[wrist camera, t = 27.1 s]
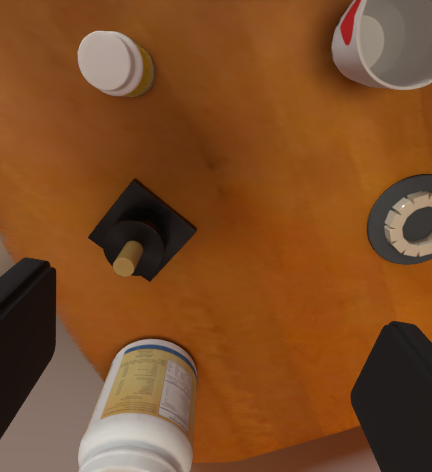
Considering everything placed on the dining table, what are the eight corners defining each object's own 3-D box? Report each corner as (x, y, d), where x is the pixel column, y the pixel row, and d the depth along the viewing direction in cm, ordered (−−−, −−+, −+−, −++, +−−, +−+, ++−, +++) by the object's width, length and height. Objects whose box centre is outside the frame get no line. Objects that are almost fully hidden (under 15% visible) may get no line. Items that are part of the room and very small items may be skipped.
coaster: (427, 153, 35) (430, 153, 35) (483, 217, 38) (486, 218, 37) (347, 224, 38) (349, 226, 38) (404, 278, 41) (406, 280, 41)
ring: (425, 177, 35) (433, 180, 34) (463, 219, 37) (472, 223, 36) (371, 225, 38) (376, 229, 36) (409, 262, 40) (415, 268, 38)
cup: (363, -29, 29) (432, -88, 20) (419, 39, 31) (505, 14, 22) (297, 51, 31) (331, 32, 22) (353, 109, 33) (406, 114, 24)
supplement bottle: (155, 43, 31) (134, 25, 23) (157, 97, 33) (138, 97, 25) (104, 42, 31) (67, 23, 23) (109, 96, 33) (76, 95, 25)
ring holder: (134, 178, 36) (110, 202, 28) (197, 228, 38) (191, 263, 30) (90, 234, 39) (56, 271, 30) (151, 278, 41) (134, 323, 33)
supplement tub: (166, 410, 50) (143, 551, 35) (97, 373, 47) (38, 508, 32) (215, 363, 46) (215, 497, 31) (144, 319, 44) (104, 442, 28)
